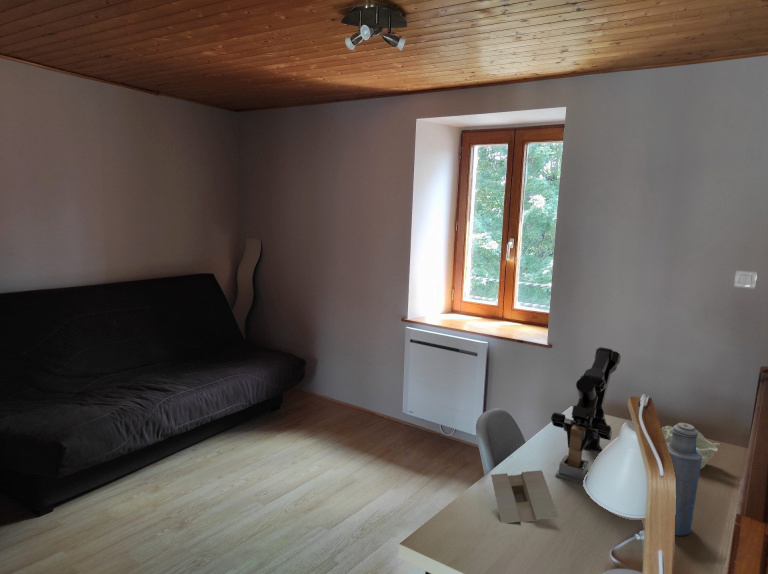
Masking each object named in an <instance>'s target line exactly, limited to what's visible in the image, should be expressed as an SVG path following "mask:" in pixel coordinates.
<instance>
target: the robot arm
mask: <svg viewBox="0 0 768 574" xmlns="http://www.w3.org/2000/svg"><path fill="white" fill-rule="evenodd" d="M620 363H621V354H620V352H618V351H615V350H613V349H611V348H608V347H602V346H600V347H598V348H596V350H595V354H594V361H593V363H592V366H591V368H589V369H586V370H585V372H584V373H583V374H582V375H581V376H580V378H579V379H578V380H577V381H576V383H575V386H576V387H575V388H576V391H577V396H578V401H577V404H576V405H573V406H572V411H571V418H572V419H571V418H567V417H566V414H564V413H559V412H555V411H554V412H553V413H552V414H551V417H550V419H551V424H552V426H554V427H556V428H561V429H563V430H564V432H566V436H567V437H566V438H567V439H566V440H567V448H568V449H569V444H570V434H571V428H572V426H573V425H577V426H581V427H585V430H584V439H583V442H582V445H581V449H580V451H581V452H582V453H583V451H584V450H590V451H600V452H601V451H603V448H602V446H601V445H600V443H601V439H603V440H607V441H611V440H612V434H613V432H612V427H611V425H609V424H607V420H606V416H605V412H604V409H603V407H604V404H605V399H606V395H607V390H608V387H609V383H610V378H611V375H612V374H613V373H614V372H616V370H617V368H618V365H620Z"/></svg>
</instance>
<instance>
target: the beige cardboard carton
mask: <svg viewBox="0 0 768 574" xmlns="http://www.w3.org/2000/svg"><path fill="white" fill-rule="evenodd" d="M490 477H491V482H492V486H493V491H494V497H495V500H496V501H495V502H496V505H497V510H498V515H499V519H500V523H504V524H511V523H529V522H536V521H538V520H547V519H555V518H559V513H558V511H557V509H556V506H555V503H554V499H553V498H552V494H551V493H550V492H551V491H550V490H549V486H548V483H547V480H546V478H545V475H544V473H543V471H542V470H531V471H528V470H527V471H522V472H521V473H520V474H511V475H508V473H495V474H490Z"/></svg>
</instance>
